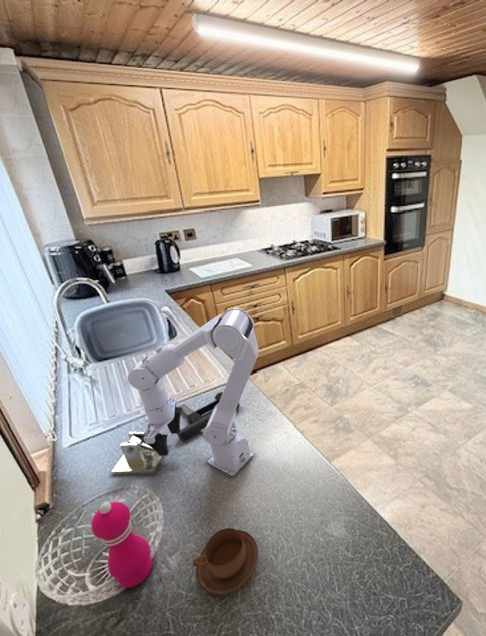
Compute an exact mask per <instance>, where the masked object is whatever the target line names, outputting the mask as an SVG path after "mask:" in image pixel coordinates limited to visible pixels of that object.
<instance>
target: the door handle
mask: <svg viewBox="0 0 486 636" xmlns="http://www.w3.org/2000/svg"><path fill="white" fill-rule="evenodd" d="M222 394H223V391H221V392H220V391H219V392H218V393H217V394H216V395H215V396H214V401H212V402H210V403H208V404H206V405H204V406H203V407H200V408H199V409H197V410H195V411H192V410H191V409H190V408H189V407H188V406H187V405H186V404H185V403H183V404H181V405H179V406H178V407H181V408H182V412H181V413H183V414H184V416H186V417H187V421H188V423H189V425H187V426H184V427H183V428H182V429H181V428H180V432H179V433H178V434H176V435H177V437H178V438H179V440H180V441H182V440H186V439H188V438H190V437H191V436H193V435H195V434H197V433H198V432H200V433H203V431H204V429H205V428H206V426H207V424H208V421H209V419H210V417H211V415H212V412H211V413H209V412H210V411H213V409H214V407H215V406H216V405H217V404H219V401H220V399H221V396H222ZM240 405H241V404H240V402H239V403H238V405H237V407H236V411H237V410H239V409H240ZM207 413H209V414H207ZM205 414H207V415H205ZM203 415H205V416H204V417H203Z"/></svg>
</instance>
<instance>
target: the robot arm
mask: <svg viewBox="0 0 486 636" xmlns="http://www.w3.org/2000/svg"><path fill="white" fill-rule="evenodd" d="M222 316H223V317H222ZM206 345H207V346H209V347H211V349H217V348H218V349H220V350H222V351H223V352H224V353H225V354H227V355H228V356H229V357H231V358H232V359H234V363H233V365H232V367H231V370H230V373H229V376H228V378H227V380H226V383H225V385H224V388H223V391H222V392H223V394H222V396H221V399H220V401H219V404H217V405H216V406H215V407H214V409H212V412H211V413H212V415H211V417H210V419H209V421H208V424H207V426H206V428H205V429H204V431H203V432H202V438H203V440H204V441H205V442H206V443H208V444H209V446H210V448H211V452H212V456H211V457H210V458H209V459H208V460H207V464H209V465H210V466H213V467H214V468H216V469H218V470H219V471H222V472H224V473H225V474H227V475H229V476H231V477H234V476H235V475H236V474H237V473H238V472H239V471H240V470H241V469H242V468H243V467H244V466H245V464H246V463H247V462H248V461H249V460H250V459H251V458H252V457H253V456H254V454H253V453H252V452H251V451H250V447H249V441H248V440H247V439H246V438H245V437H243V436H242V435H241V434H240V433H239V431H238V429H237V425H236V423H235V419H236V417H237V415H238V413H237V410H236V407H237V405H238V403H239V404H240V400H241V398H242V395H243V393H244V391H245V387H246V386H247V383H248V381H249V378H250V376H251V374H252V372H253V369H254V367H255V365H256V361H257V358H258V356H259V354H260V349H259V345H258V341H257V335H256V332H255V321H254V320H253V319H252V317H251V316H250V314H249V313H248V312H247V311H246V310H244V309H243V308H240V307H231V308H229V309H227V310H226V311H225V312H224V313H220V314H218V315H216V316H215V317H213V318H212V319H211V320H209V321H207V322H206V323H205V324H203V325H201V326H200V327H199V328H197V329H196V330H195V331H193V332H192V333H190V334H189V335H188V336H187V337H185V338H184V339H182V340H181V341H179V342H178V343H177V344H174V343H168V344H166V345H162V344H161V345H159V346H158V347H157V348H156V349H155V350H154V351H155V352H154V353H152V354H151V355H149V356H147V355H145V356H144V357H143V358H142V359H140V360H139V362H138V363H137V364H136V365H135V366H134V367H133V368H132V370H130V372H129V373H128V375H127V381H128V383H129V385H130V386H131V387H132V388H134V389H136V390H137V392H138V395H139V397H140V400H141V403H142V407H143V408H144V411H145V414H146V416H145V417H144V422H145V423H147V425H146V430H145V431H146V434H145V436H144V437H143V439H142V440H143V443H145V444H147V445H149V446H150V447H152V448H153V449H154V450H155V451H156V452H157V453H158V454H159V456H163V457H164V456H168V455H169V446H168V447H167V445H168V436H169V434H162V433H160V432H161V431H163V429H164V428H165V427H167V428H168V430H169V433H170V434H172V435H174V434H176V435H177V434H178V433H179V432H180V430H181V415H182V413H183V412H182V408H181V407H179V406H178V403H179V402H178V400H177V398H176V397H175V398H169V396H168V393H167V390H166V386H165V384H164V383H165V382H164V380H163V379H164V377H165V376H166V375H168V374H169V373H171V372H172V371H174V370H176V369H177V368H179V367H181V366H183V364H184V362H185V358H186V357H187V356H188V355H190V354H192V353H194V352H195V351H197V350H199V349H200V348H203V347H204V346H206Z"/></svg>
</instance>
